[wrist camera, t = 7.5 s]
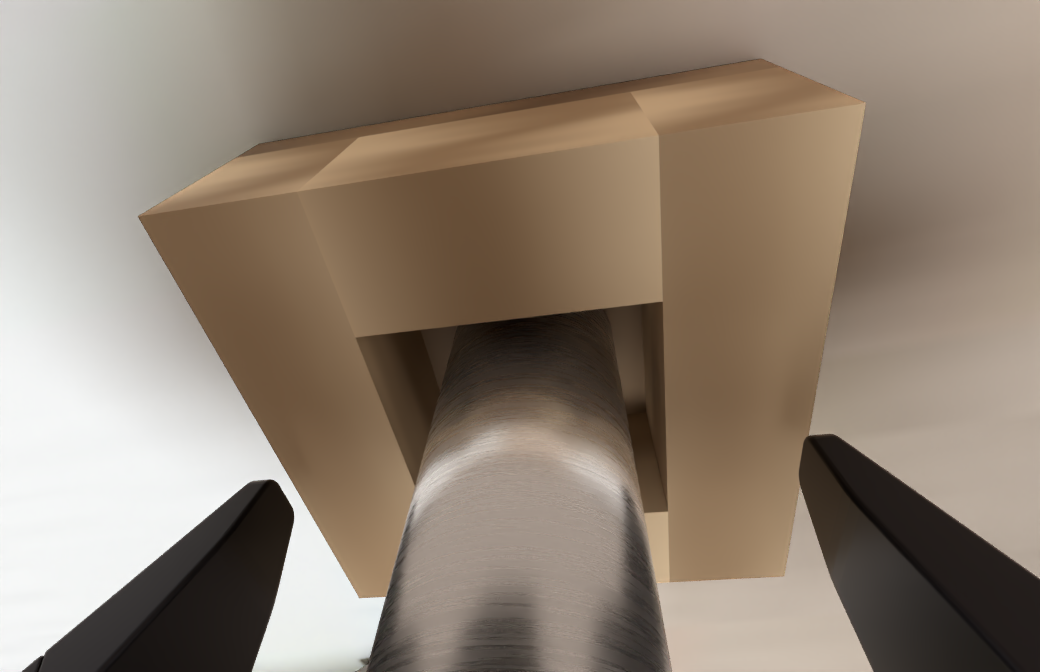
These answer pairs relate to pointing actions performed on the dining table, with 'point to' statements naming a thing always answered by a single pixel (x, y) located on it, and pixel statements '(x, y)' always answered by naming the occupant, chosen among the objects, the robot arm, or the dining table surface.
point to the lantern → (363, 669)
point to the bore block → (538, 290)
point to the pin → (526, 514)
